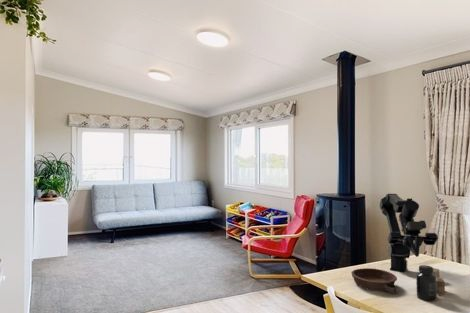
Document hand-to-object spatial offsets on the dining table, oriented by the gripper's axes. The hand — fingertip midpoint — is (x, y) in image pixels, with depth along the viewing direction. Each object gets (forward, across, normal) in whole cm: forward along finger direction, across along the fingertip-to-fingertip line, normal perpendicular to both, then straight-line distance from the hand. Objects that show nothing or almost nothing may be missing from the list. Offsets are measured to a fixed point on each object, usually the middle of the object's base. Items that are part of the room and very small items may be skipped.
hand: (417, 256), depth 142 cm
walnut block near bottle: (+11, +7, +9) cm, 15 cm away
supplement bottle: (+16, 0, +3) cm, 16 cm away
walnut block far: (+1, +10, +18) cm, 21 cm away
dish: (+9, -17, +11) cm, 22 cm away
